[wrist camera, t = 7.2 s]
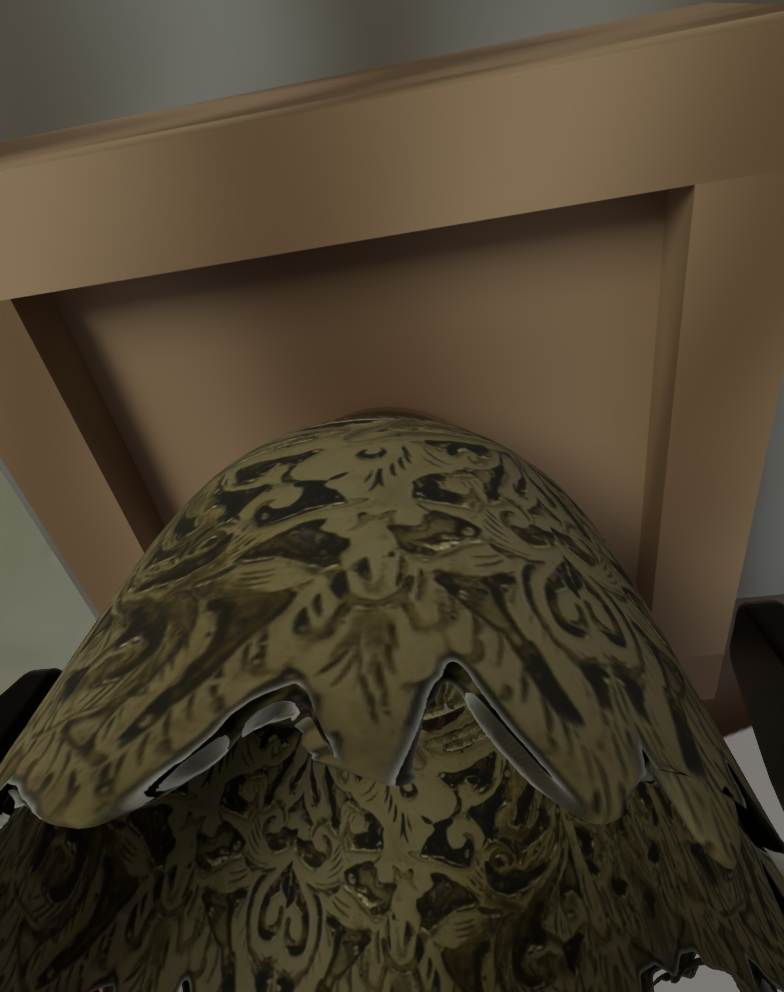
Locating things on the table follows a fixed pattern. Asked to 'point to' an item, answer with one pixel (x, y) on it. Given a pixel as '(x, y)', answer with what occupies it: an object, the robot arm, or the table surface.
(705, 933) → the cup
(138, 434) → the wooden square tray
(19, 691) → the robot arm
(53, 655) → the table surface
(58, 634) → the table surface
